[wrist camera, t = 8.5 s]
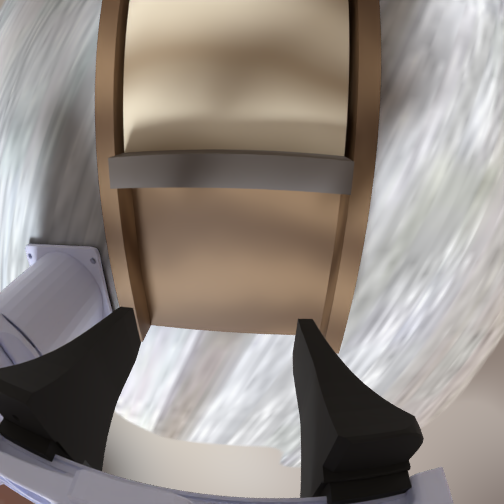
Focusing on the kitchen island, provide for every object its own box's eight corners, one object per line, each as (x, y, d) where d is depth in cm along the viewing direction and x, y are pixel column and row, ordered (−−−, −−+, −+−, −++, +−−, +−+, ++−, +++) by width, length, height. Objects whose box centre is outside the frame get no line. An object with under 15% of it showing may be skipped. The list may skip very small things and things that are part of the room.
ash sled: (335, 180, 17) (350, 194, 14) (136, 175, 17) (110, 188, 14) (341, -11, 12) (356, -34, 9) (141, -7, 12) (117, -26, 9)
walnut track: (331, 327, 22) (341, 363, 19) (141, 315, 23) (123, 348, 19) (358, -51, 11) (375, -79, 7) (132, -47, 11) (109, -70, 7)
